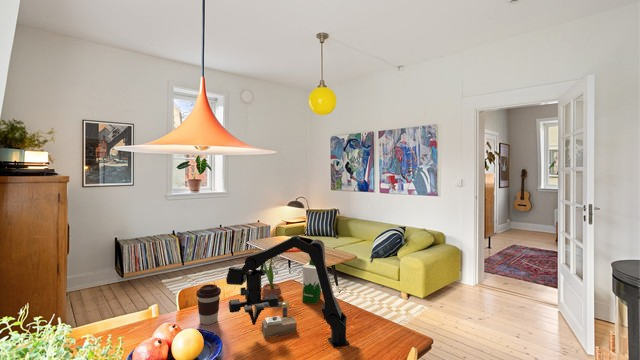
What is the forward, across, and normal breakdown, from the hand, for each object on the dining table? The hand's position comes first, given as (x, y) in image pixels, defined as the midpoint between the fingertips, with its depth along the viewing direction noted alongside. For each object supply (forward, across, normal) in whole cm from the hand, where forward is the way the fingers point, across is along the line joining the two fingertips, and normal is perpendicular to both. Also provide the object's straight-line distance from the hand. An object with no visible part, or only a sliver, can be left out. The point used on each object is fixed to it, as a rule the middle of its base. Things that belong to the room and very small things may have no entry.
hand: (253, 324), depth 128 cm
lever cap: (+1, -8, 0) cm, 8 cm away
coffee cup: (+5, +16, -18) cm, 25 cm away
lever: (-2, -10, -9) cm, 14 cm away
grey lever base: (+5, -10, -3) cm, 12 cm away
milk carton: (+5, -33, -24) cm, 41 cm away
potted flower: (+5, -16, -36) cm, 39 cm away
